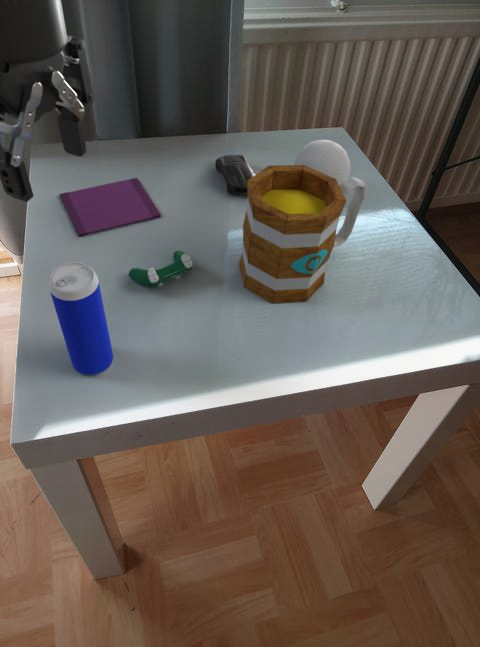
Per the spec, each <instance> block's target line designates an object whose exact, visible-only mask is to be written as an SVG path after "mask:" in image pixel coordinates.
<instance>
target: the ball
mask: <svg viewBox="0 0 480 647" xmlns="http://www.w3.org/2000/svg"><path fill="white" fill-rule="evenodd" d="M293 165H305V166H308V167H310V168H312V169H314V170H317V171H319V172H321V173H323V174H326V175H328V176H330V177H332V178H335V179H336V180H337V182H338V185H339V184H340V183H342V182H343V181H345V180H346V179H348V178H349V177H350V175H351V162H350V158H349V155H348V152H346V150H345V149H344V148H343V147H342V146H341V145H340V144H339V143H337V142H335V141H333V140H330V139H329V140H328V139H318V140H314V141H311V142H309V143H307V144H306V145H304V146H303V147H302V148H301V149H300V151H299V152H298V154H297V155H296V157H295V159H294V163H293Z"/></svg>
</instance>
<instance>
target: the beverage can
mask: <svg viewBox="0 0 480 647" xmlns="http://www.w3.org/2000/svg"><path fill="white" fill-rule="evenodd" d="M99 281H100V280H99V277H98V275H97V274H96V272H95V271H94V270H93V268H92V267H91V266H89V265H87V264H86V263H82V262H67V263H63V264H61V265H60V266H57V267H56V268H55V269H54V270H53V271H52V273H51V274H50V277H49V283H48V289H49V292H50V296H51V299H52V304H53V306H54V309H55V312H56V316H57V319H58V323H59V325H60V330H61V333H62V335H63V338H64V342H65V345H66V348H67V353H68V356H69V358H70V362H71V366H72V367H73V369H74V370H75V371H76V372H77V373H79V374H81V375H86V376H96V375H100V374H102V373H104V372H106V370H107V369H109V367H111V365H112V364H113V362H114V361H113V360H114V352H113V348H112V347H113V346H112V343H111V336H110V331H109V327H108V322H107V317H106V311H105V306H104V302H103V296H102V291H101V286H100V282H99Z"/></svg>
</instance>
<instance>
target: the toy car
mask: <svg viewBox="0 0 480 647" xmlns="http://www.w3.org/2000/svg"><path fill="white" fill-rule="evenodd" d="M214 164H215V165H214V166H215V171H216V172H219V173H220V175H221V176H222V178H223V180H224V182H225V184H226V191H227V192H228V193H229V194H230V193H232V194H236V195H248V193H247V181H248V180H249V179H250V178H252V177H253V176H255V175H256V174H257V173H255V172H254V170H253V169H252V168H251V166H250V164H249V162H248V160H247V157H246V156H245V155H242V154H228V155H227V154H226V155H222V156H220V157H219V156H218V158H217V159H216V160H215V163H214Z"/></svg>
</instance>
